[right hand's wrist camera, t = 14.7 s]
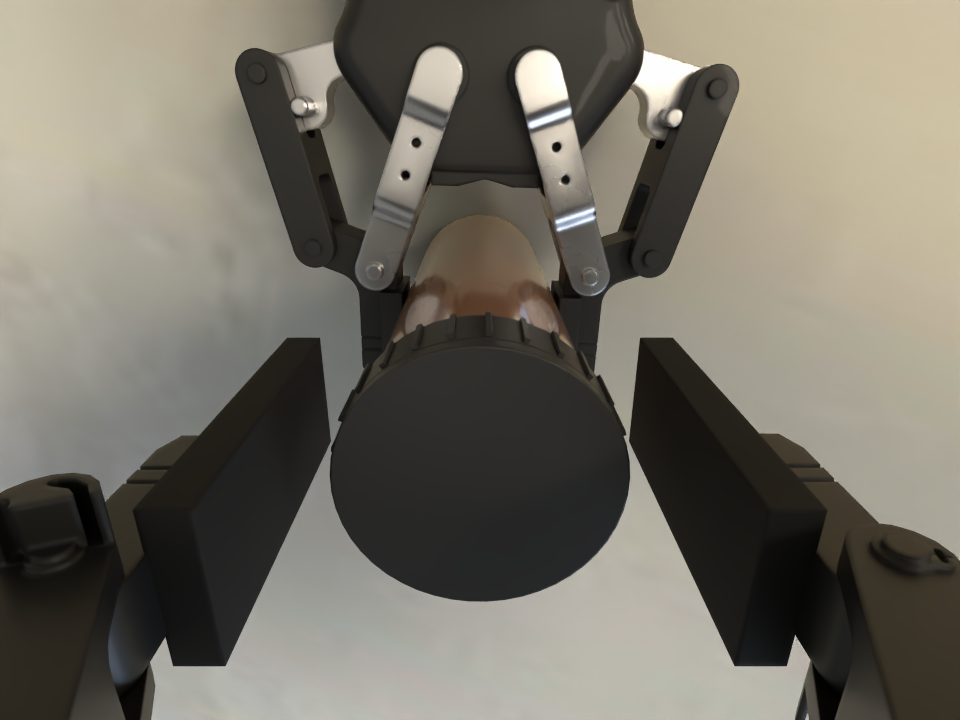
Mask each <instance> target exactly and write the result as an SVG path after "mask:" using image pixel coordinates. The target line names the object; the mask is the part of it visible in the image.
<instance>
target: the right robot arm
mask: <svg viewBox="0 0 960 720" xmlns="http://www.w3.org/2000/svg"><path fill="white" fill-rule="evenodd" d="M330 442H331V437H330V428H329V419H328V409H327V400H326V391H325V381H324V372H323V362H322V353H321V344H320V338H287V339H286V340H285V341H284V342H283V343H282V344H281V345H280V346H279V347H278V349H277V350H276V351H275V352H274V353H273V354H272V355H271V356H270V357H269V359H268V360H267V361H266V362H265V363H264V364H263V365H262V366H261V367H260V369H259V370H258V371H257V372H256V373H255V374H254V375H253V376H252V377H251V379H250V380H249V381H248V382H247V383H246V384H245V385H244V386H243V387H242V389H241V390H240V391H239V392H238V393H237V394H236V395H235V396H234V397H233V399H232V400H231V401H230V402H229V403H228V404H227V405H226V406H225V407H224V409H223V410H222V411H221V412H220V413H219V414H218V415H217V416H216V417H215V419H214V420H213V421H212V422H211V423H210V424H209V425H208V426H207V427H206V429H205V430H204V431H203V432H202V433H201V434H200V435H199V436H181V437H179V438H177V439H175V440H174V441H172V442H170V443H168V444H166V445H165V446H163V447H161V448H159V449H158V450H156V451H155V452H154V453H153V454H152V455H151V456H150V457H149V458H148V459H147V460H146V461H145V462H144V463H143V464H142V465H141V466H140V470H136V471H135V472H134V473H133V475H132V476H131V477H130V478H129V479H128V480H127V483H126V484H123V485H122V486H121V487H120V488H119V489H118V490H117V491H116V492H115V493H114V494H113V495H112V496H111V497H110V498H109V499H108V500H107V501H106V502H105V500H104V497H103V493H102V490H101V486H100V483H99V481H98V480H97V479H95V478H93V477H92V476H90V475H86V474H78V473H67V474H56V475H50V476H45V477H41V478H37V479H33V480H29V481H27V482H24V483H22V484H19V485H17V486H14V487H12V488H9V489H7V490H5V491H3V492H1V493H0V720H151V716H152V708H153V700H154V692H155V682H154V676H153V671H152V668H151V664H150V661H151V659H152V658H153V656H154V655H155V653H156V651H157V650H158V648H159V646H160V645H161V643H162V641H163V640H164V638H165V637H166V640H167V644H168V648H169V652H170V656H171V660H172V663H173V666H226V664H227V661H228V659H229V657H230V655H231V653H232V651H233V649H234V647H235V644H236V642H237V640H238V638H239V636H240V634H241V632H242V629H243V627H244V625H245V623H246V621H247V619H248V617H249V615H250V612H251V610H252V608H253V606H254V604H255V602H256V600H257V598H258V595H259V593H260V591H261V589H262V587H263V585H264V583H265V580H266V578H267V576H268V574H269V572H270V570H271V568H272V566H273V563H274V561H275V559H276V557H277V555H278V553H279V551H280V549H281V546H282V544H283V542H284V540H285V538H286V536H287V534H288V531H289V529H290V527H291V525H292V523H293V521H294V519H295V517H296V514H297V512H298V510H299V508H300V506H301V504H302V502H303V500H304V497H305V495H306V493H307V491H308V489H309V487H310V485H311V483H312V480H313V478H314V476H315V474H316V472H317V470H318V468H319V465H320V463H321V461H322V459H323V457H324V455H325V453H326V451H327V448H328V446H329V444H330ZM629 442H630V444H631V446H632V448H633V451H634V453H635V455H636V457H637V459H638V461H639V463H640V465H641V468H642V470H643V472H644V474H645V476H646V478H647V480H648V483H649V485H650V487H651V489H652V491H653V493H654V495H655V497H656V500H657V502H658V504H659V506H660V508H661V510H662V512H663V514H664V517H665V519H666V521H667V523H668V525H669V527H670V529H671V532H672V534H673V536H674V538H675V540H676V542H677V544H678V546H679V549H680V551H681V553H682V555H683V557H684V559H685V561H686V563H687V566H688V568H689V570H690V572H691V574H692V576H693V578H694V580H695V583H696V585H697V587H698V589H699V591H700V593H701V595H702V598H703V600H704V602H705V604H706V606H707V608H708V610H709V612H710V615H711V617H712V619H713V621H714V623H715V625H716V627H717V629H718V632H719V634H720V636H721V638H722V640H723V642H724V644H725V647H726V649H727V651H728V653H729V655H730V657H731V659H732V661H733V664H734V666H787V663H788V660H789V656H790V652H791V648H792V644H793V640H794V637H795V635H796V637H797V638H798V640H799V642H800V643H801V645H802V646H803V648H804V650H805V651H806V653H807V655H808V656H809V658H810V659H811V661H810V664H809V668H808V671H807V675H806V679H805V682H804V686H803V689H802V693H801V696H800V700H799V703H798V707H797V711H796V716H795V720H805V718H806V715H807V714H809V720H960V561H959V560H958V558H957V557H956V556H955V555H954V554H953V553H951V552H950V551H949V550H947V549H946V548H944V547H943V546H942V545H940V544H939V543H937V542H936V541H934V540H932V539H929V538H927V537H925V536H923V535H921V534H919V533H917V532H914V531H911V530H908V529H904V528H901V527H897V526H894V525H887V524H879V523H878V522H877V521H876V520H875V519H874V518H873V517H872V516H871V515H870V514H869V513H868V512H867V511H866V510H865V509H864V508H863V507H862V506H861V505H860V504H859V503H858V502H857V501H856V500H855V499H854V498H853V497H852V496H851V495H850V494H849V493H848V492H847V491H846V490H845V489H844V488H843V487H842V486H841V485H840V484H839V483H838V482H834V478H833V477H832V476H831V475H830V474H829V473H828V472H827V471H826V470H825V469H824V468H820V464H819V463H818V462H817V461H816V460H815V459H814V458H813V457H812V456H811V455H810V454H809V453H808V452H807V451H806V450H805V449H804V448H803V447H801V446H799V445H798V444H796V443H794V442H792V441H790V440H789V439H787V438H785V437H783V436H782V435H780V434H759V433H758V432H757V431H756V430H755V429H754V427H753V426H752V425H751V424H750V423H749V422H748V421H747V420H746V419H745V417H744V416H743V415H742V414H741V413H740V412H739V411H738V410H737V409H736V407H735V406H734V405H733V404H732V403H731V402H730V401H729V400H728V399H727V397H726V396H725V395H724V394H723V393H722V392H721V391H720V390H719V389H718V387H717V386H716V385H715V384H714V383H713V382H712V381H711V380H710V379H709V377H708V376H707V375H706V374H705V373H704V372H703V371H702V370H701V369H700V367H699V366H698V365H697V364H696V363H695V362H694V361H693V360H692V359H691V357H690V356H689V355H688V354H687V353H686V352H685V351H684V350H683V349H682V347H681V346H680V345H679V344H678V343H677V342H676V341H675V340H674V339H673V338H640V344H639V353H638V362H637V372H636V381H635V391H634V400H633V409H632V419H631V428H630V437H629Z"/></svg>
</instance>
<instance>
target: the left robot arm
mask: <svg viewBox="0 0 960 720" xmlns="http://www.w3.org/2000/svg"><path fill="white" fill-rule="evenodd" d="M235 75H236V79H237V82H238V85H239V88H240V91H241V94H242V97H243V100H244V103H245V106H246V109H247V112H248V115H249V118H250V121H251V124H252V127H253V130H254V133H255V136H256V139H257V142H258V145H259V148H260V151H261V154H262V157H263V160H264V163H265V166H266V169H267V172H268V175H269V178H270V181H271V184H272V187H273V190H274V193H275V196H276V199H277V202H278V205H279V208H280V211H281V214H282V217H283V220H284V223H285V226H286V229H287V232H288V235H289V238H290V241H291V244H292V247H293V250H294V253H295V255H296V257H297V258H298V259H299V261H300V262H302V263H303V264H305V265H306V266H309V267H313V268H318V267H322V266H323V267H326V268H328V269H331V270H334V271H336V272H339V273H341V274H344V275H346V276H347V277H349V278H350V279H351V280H352V281H353V282H354V284H355V285H356V287H357V289H358V292H359V297H360V317H361V336H362V358H363V367H364V369H365V367H366V365H367V364H368V363H370V364H371V365H372V364H373V363H374V362H375V361H376V359H377V358H378V357H379V356H380V355H381V354H382V353H383V352H384V351H385V349H386V346H387V344H388V341H389V339H390V337H391V334H392V332H393V329H394V327H395V325H396V322H397V320H398V318H399V315H400V313H401V310H402V308H403V306H404V303H405V301H406V299H407V296H408V294H409V291H410V276H403V261H404V258H405V255H406V252H407V250H408V247H409V244H410V241H411V238H412V235H413V233H414V230H415V227H416V224H417V221H418V218H419V216H420V213H421V211H422V208H423V206H424V203H425V200H426V198H427V195H428V192H429V189H430V186H431V185H446V186H459V185H463V184H467V183H471V182H475V181H479V180H484V179H487V180H490V181H493V182H497V183H500V184H503V185H506V186H510V187H516V188H538V192H539V195H540V199H541V202H542V205H543V208H544V211H545V214H546V217H547V220H548V223H549V227H550V230H551V234H552V237H553V241H554V244H555V248H556V251H557V255H558V258H559V262H560V271H559V281H552V285H551V293H552V296H553V298H554V300H555V303H556V305H557V308H558V310H559V312H560V315H561V317H562V319H563V322H564V324H565V327H566V329H567V331H568V334H569V336H570V339H571V341H572V343H573V346H574V348H575V350H576V352H578V351H579V350H580V351H581V352H582V353H583V354H584V356H585V358H586V360H587V363H588V365H589V367H590V368H591V370H592V371H593V373H594V368H595V359H596V349H597V340H598V331H599V321H600V312H601V303H602V299H603V297H604V295H605V293H606V292H607V290H608V289H609V288H610V287H612V286H613V285H615V284H616V283H619V282H621V281H624V280H628V279H631V278H634V277H637V276H642V277H646V278H653V277H657V276H659V275H661V274H662V273H664V272H665V271H666V270H667V268H668V267H669V265H670V263H671V260H672V258H673V255H674V253H675V250H676V248H677V245H678V243H679V240H680V238H681V235H682V233H683V230H684V228H685V225H686V223H687V220H688V218H689V215H690V213H691V210H692V208H693V205H694V202H695V200H696V197H697V195H698V192H699V190H700V187H701V185H702V182H703V180H704V177H705V175H706V172H707V170H708V167H709V165H710V162H711V160H712V157H713V155H714V152H715V150H716V147H717V145H718V142H719V140H720V137H721V135H722V132H723V130H724V127H725V125H726V122H727V119H728V117H729V114H730V112H731V109H732V107H733V104H734V102H735V99H736V97H737V94H738V91H739V79H738V76H737V74H736V72H735V71H734V70H733V69H732V68H731V67H729V66H728V65H725V64H715V65H707V66H703V67H697V66H694V65H691V64H687V63H684V62H681V61H678V60H675V59H672V58H668V57H665V56H662V55H659V54H656V53H653V52H649V51H646V50H644V43H643V38H642V34H641V32H640V29H639V27H638V24H637V22H636V19H635V15H634V10H633V4H632V0H347V1H346V4H345V8H344V11H343V13H342V15H341V17H340V19H339V21H338V23H337V26H336V29H335V33H334V39H333V40H332V41H328V42H324V43H320V44H316V45H312V46H308V47H304V48H300V49H296V50H291V51H287V52H283V53H279V54H274V53H271V52H268V51H265V50H262V49H258V48H251V49H248V50H245V51H244V52H243V53H241V55H240V56H239V57H238V59H237V61H236V65H235ZM344 80H346V81H347V83H348V84H349V85H350V87H351V88H352V90H353V91H354V93H355V94H356V95H357V97H358V98H359V100H360V101H361V103H362V104H363V106H364V107H365V108H366V110H367V111H368V113H369V114H370V116H371V117H372V118H373V120H374V121H375V123H376V124H377V126H378V127H379V129H380V130H381V131H382V133H383V134H384V136H385V137H386V139H387V140H388V141H389V143H390V144H391V149H390V152H389V155H388V158H387V161H386V164H385V167H384V171H383V174H382V177H381V180H380V183H379V186H378V189H377V192H376V195H375V199H374V203H373V211H372V215H371V218H370V221H369V224H368V227H367V230H366V231H364V230H362V229H359V228H356V227H354V226H351V225H349V224H348V222H347V219H346V216H345V212H344V209H343V205H342V202H341V199H340V195H339V192H338V188H337V185H336V182H335V178H334V175H333V171H332V168H331V164H330V161H329V158H328V154H327V151H326V147H325V144H324V141H323V137H322V134H321V130H320V129H323V128H325V127H327V126H328V125H329V124H330V123H331V121H332V119H333V117H334V112H335V108H334V93H335V90H336V88H337V86H338V85H339V84H340V83H341V82H342V81H344ZM629 89H631V90H633V91H634V92H635V94H636V95H637V97H638V99H639V103H640V111H639V116H638V125H639V128H640V130H641V132H642V133H643V134H644V135H645V136H646V137H647V138H650V139H651V140H650V143H649V145H648V148H647V151H646V154H645V157H644V159H643V162H642V165H641V168H640V171H639V173H638V176H637V179H636V182H635V185H634V187H633V190H632V193H631V196H630V199H629V201H628V204H627V207H626V210H625V213H624V215H623V218H622V221H621V224H620V227H619V229H618V232H616V233H613V234H610V235H607V236H604V237H601V236H600V233H599V229H598V225H597V221H596V209H595V203H594V199H593V195H592V191H591V188H590V184H589V180H588V176H587V172H586V168H585V164H584V160H583V156H582V152H581V150H582V149H583V147H584V146H585V145H586V143H587V142H588V141H589V140H590V138H591V137H592V136H593V135H594V133H595V132H596V131H597V129H598V128H599V127H600V126H601V124H602V123H603V122H604V121H605V119H606V118H607V117H608V115H609V114H610V113H611V112H612V110H613V109H614V108H615V107H616V105H617V104H618V103H619V101H620V100H621V99H622V98H623V96H624V95H625V94H626V93H627V91H628V90H629Z"/></svg>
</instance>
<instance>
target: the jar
mask: <svg viewBox="0 0 960 720" xmlns="http://www.w3.org/2000/svg"><path fill="white" fill-rule="evenodd" d="M485 312H491V315H492V316H499V317H506V318H512V319H515V320H520V318H521V317H522V318H525V319H526V321H527V323H529V324H532V325H534V326H536V327H539V328H541V329H544V330H546V331H547V332H549V333H551V332H552V331H555V332H557V333H558V336H559V339H561V340H562V341H563V342H565V343H566V344H567V345H569V346H570V347H571V348H572V349H574V350H575V348H574V346H573V343H572V341H571V339H570V336H569V334H568V331H567V329H566V327H565V324H564V322H563V319H562V317H561V315H560V312H559V310H558V308H557V305H556V303H555V300H554V298H553V296H552V293H551V291H550V288H549V286H548V284H547V281H546V279H545V276H544V274H543V272H542V269H541V267H540V265H539V262H538V260H537V257H536V255H535V253H534V250H533V248H532V246H531V244H530V242H529V241H528V239H527V238H526V237H525V235H524V234H523V233H522V232H521V231H520V230H519V229H518V228H516V227H515V226H514V225H512V224H511V223H509V222H507V221H505V220H503V219H501V218H498V217H494V216H489V215H471V216H466V217H462V218H460V219H457V220H455V221H453V222H451V223H449V224H448V225H447V226H445V227H444V228H443V229H441V230H440V231H439V232H438V233H437V234H436V236H435V237H434V238H433V240H432V241H431V243H430V245H429V246H428V249H427V251H426V253H425V256H424V258H423V260H422V263H421V265H420V268H419V270H418V272H417V275H416V277H415V280H414V282H413V284H412V287H411V289H410V291H409V294H408V296H407V299H406V301H405V303H404V306H403V308H402V310H401V313H400V315H399V318H398V320H397V322H396V325H395V327H394V329H393V332H392V334H391V337H390V339H389V341H388V343H389V342H390V341H391V340H393V342H394V343H395V342H397V341H398V340H399V339H401V338H402V337H404V336H405V335H407V334H409V333H411V332H413V331H415V329H416V326H417V325H419V324H421V323H422V325H423V326H426V325H428V324H431V323H434V322H437V321H441V320H445V319H449V318H450V314H456V317H461V316H469V315H485ZM386 347H387V346H386ZM575 351H576V350H575Z"/></svg>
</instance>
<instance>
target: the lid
mask: <svg viewBox="0 0 960 720" xmlns="http://www.w3.org/2000/svg"><path fill="white" fill-rule="evenodd" d="M613 405H614V402H613V400H612V398H611V396H610V394H609V392H608V390H607V388H606V385H605V383H604V381H603V379H602V377H601V376H600V375H599V376H597V377H596V375H595V374H594V373H593V371H592V370H591V368H590V367H589V365H588V363H587V360H586V358H585V356H584V354H583V353H582V352H581V351H580V350H579V351H578V352H576V351H575V350H574V349H572V348H571V347H570V346H569V345H567V344H566V343H565V342H563V341H562V340H561V339H559V336H558V333H557V332H555V331H552V332H551V333H549V332H547V331H546V330H544V329H541V328H539V327H536V326H534V325H532V324H529V323H527V321H526V319H525V318H522V317H521V318H520V320H515V319H512V318H506V317H499V316H492V315H491V312H485V315H469V316H461V317H456V314H450V318H449V319H445V320H441V321H437V322H434V323H431V324H428V325H426V326H423V325H422V323H421V324H419V325H417V326H416V329H415V331H413V332H411V333H409V334H407V335H405V336H404V337H402V338H401V339H399V340H398V341H397V342H395V343H394V342H393V340H391V341H390V342H389V343H388V344H387V347H386V349H385V351H384V352H383V353H382V354H381V355H380V356H379V357H378V358H377V359H376V361H375V362H374V363H373V364H372V365H371V364H370V363H368V364H367V365H366V367H365V369H364V371H363V373H362V375H361V377H360V379H359V381H358V384H357V386H356V388H355V390H353V389H352V391H351V393H350V395H349V397H348V400H347V402H346V404H345V406H344V408H343V410H342V412H341V414H340V416H339V419H338V421H341V422H342V423H341V425H340V428H339V430H338V433H337V436H336V438H335V440H334V442H333V445H332V447H331V452H332V455H331V462H330V482H331V492H332V496H333V500H334V504H335V508H336V510H337V513H338V515H339V518H340V520H341V523H342V525H343V526H344V528H345V530H346V531H347V533H348V535H349V536H350V538H351V539H352V541H353V542H354V543H355V545H356V546H357V547H358V548H359V550H360V551H361V552H362V553H363V554H364V555H365V556H366V557H367V558H368V559H369V560H370V561H371V562H372V563H373V564H374V565H376V566H377V567H378V568H380V569H381V570H382V571H384V572H385V573H386V574H388V575H389V576H391V577H393V578H394V579H396V580H398V581H399V582H401V583H403V584H405V585H408V586H410V587H412V588H414V589H416V590H419V591H422V592H425V593H428V594H431V595H434V596H439V597H443V598H448V599H453V600H462V601H498V600H507V599H512V598H517V597H522V596H525V595H529V594H532V593H535V592H538V591H541V590H543V589H546V588H548V587H550V586H553V585H555V584H557V583H559V582H560V581H562V580H564V579H566V578H567V577H569V576H571V575H572V574H573V573H575V572H576V571H578V570H579V569H580V568H582V567H583V566H584V565H585V564H587V563H588V562H589V561H590V560H591V559H592V558H593V557H594V556H595V555H596V554H597V553H598V552H599V551H600V549H601V548H602V547H603V546H604V545H605V543H606V542H607V541H608V539H609V538H610V536H611V535H612V533H613V531H614V530H615V528H616V526H617V524H618V522H619V520H620V517H621V515H622V513H623V510H624V507H625V503H626V500H627V496H628V490H629V482H630V461H629V456H628V450H627V445H626V442H625V439H624V436H625V435H626V432H625V429H624V427H623V425H622V423H621V420H620V418H619V416H618V414H617V412H616V410H615V408H614V406H613Z"/></svg>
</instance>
